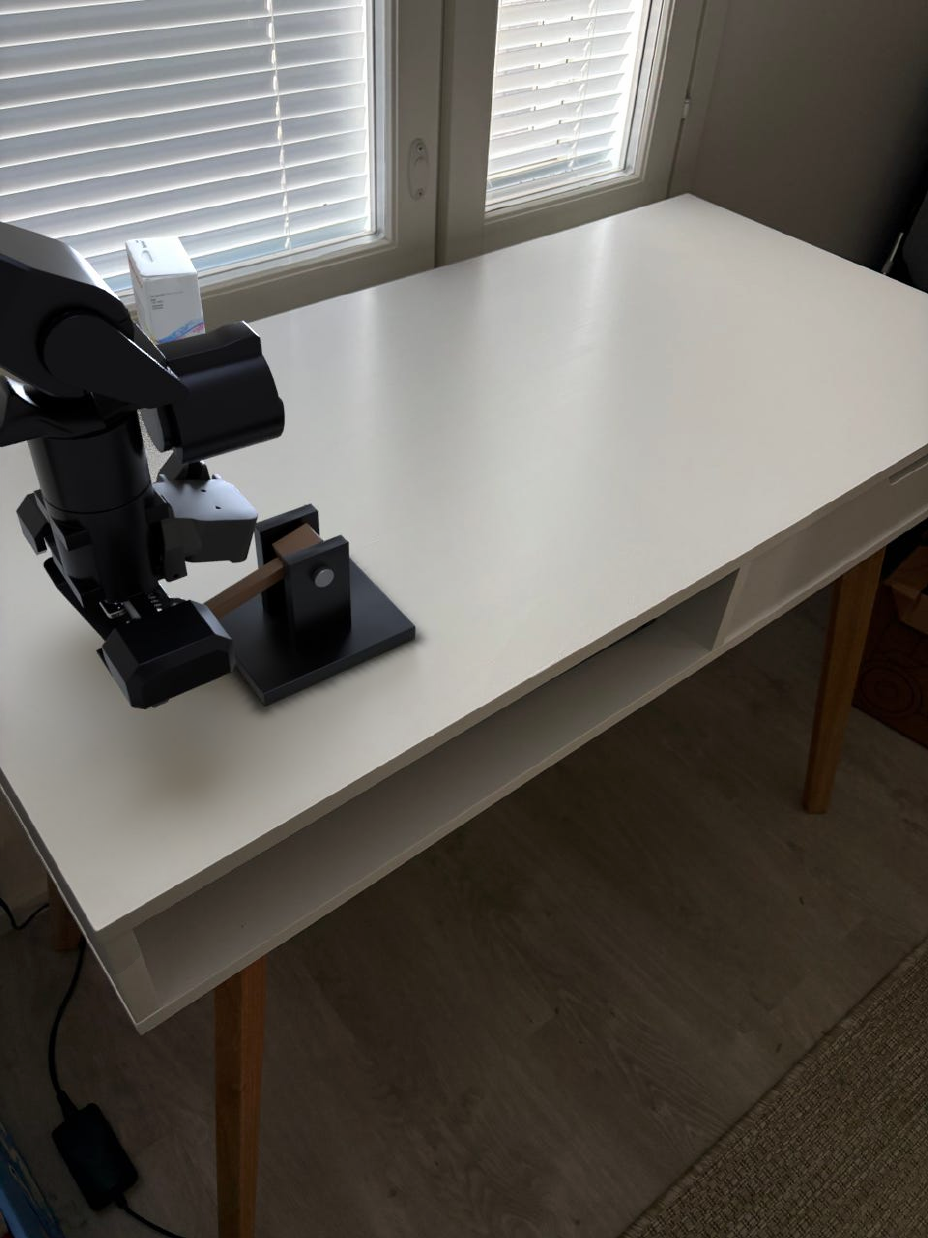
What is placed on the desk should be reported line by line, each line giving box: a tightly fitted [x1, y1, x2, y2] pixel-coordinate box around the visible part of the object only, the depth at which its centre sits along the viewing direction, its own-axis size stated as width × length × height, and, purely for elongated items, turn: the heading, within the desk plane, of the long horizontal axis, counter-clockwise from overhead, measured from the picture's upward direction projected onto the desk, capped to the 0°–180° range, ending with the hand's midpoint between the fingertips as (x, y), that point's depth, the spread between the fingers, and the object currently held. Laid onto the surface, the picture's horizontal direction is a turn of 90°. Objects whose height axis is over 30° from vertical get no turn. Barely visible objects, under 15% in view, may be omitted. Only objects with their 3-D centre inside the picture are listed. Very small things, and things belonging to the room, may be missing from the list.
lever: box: [202, 523, 324, 620], centre depth 66 cm, size 14×5×2 cm, turn 125°
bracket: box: [218, 503, 417, 706], centre depth 70 cm, size 12×10×9 cm
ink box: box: [124, 235, 206, 345], centre depth 93 cm, size 8×5×12 cm, turn 25°
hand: (143, 678), depth 66 cm, fingers closed on lever, 5 cm apart
